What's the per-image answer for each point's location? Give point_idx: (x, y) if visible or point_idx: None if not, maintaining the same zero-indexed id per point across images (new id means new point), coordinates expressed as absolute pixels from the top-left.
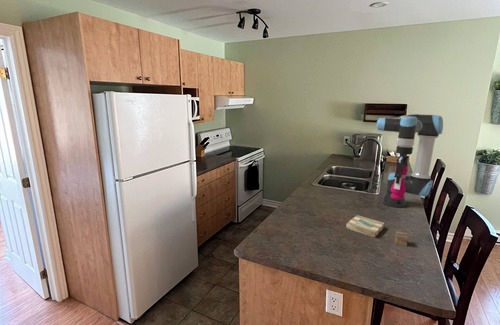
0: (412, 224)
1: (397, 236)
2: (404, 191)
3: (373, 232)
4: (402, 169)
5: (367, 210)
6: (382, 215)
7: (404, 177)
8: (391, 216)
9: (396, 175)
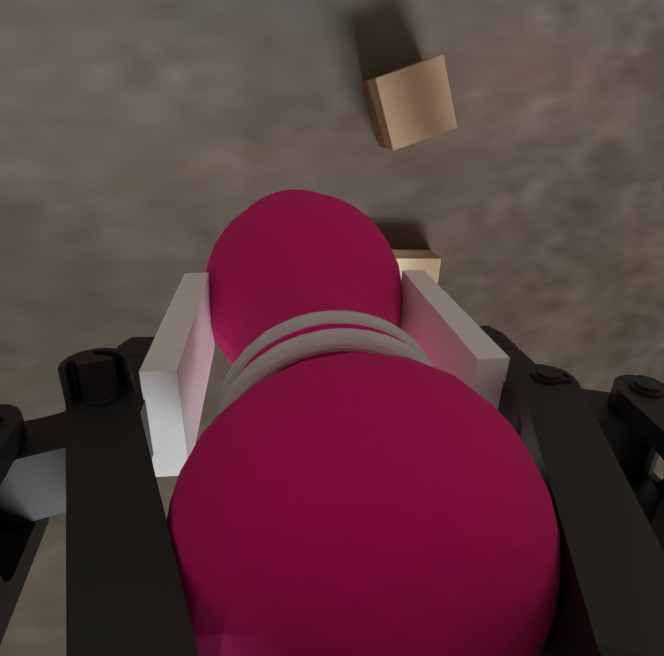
0: (11, 96)
1: (454, 124)
2: (342, 204)
3: (438, 266)
4: (619, 522)
5: (52, 413)
6: (46, 316)
7: (383, 322)
8: (2, 264)
9: (653, 463)
